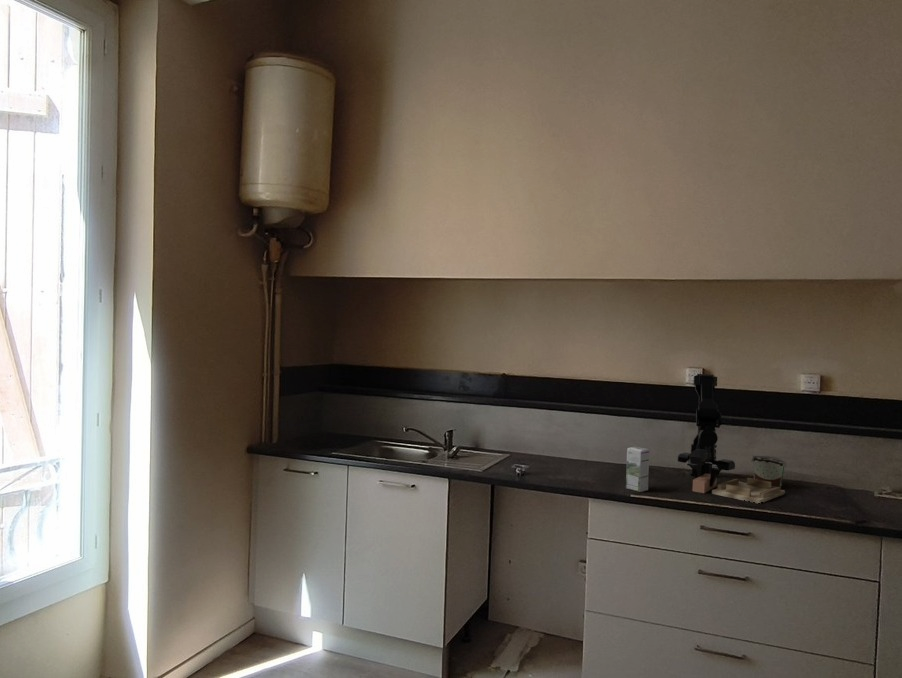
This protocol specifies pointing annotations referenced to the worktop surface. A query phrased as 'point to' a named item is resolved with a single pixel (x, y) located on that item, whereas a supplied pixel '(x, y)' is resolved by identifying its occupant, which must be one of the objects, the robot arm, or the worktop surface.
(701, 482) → the pinkish brown block
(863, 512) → the worktop surface
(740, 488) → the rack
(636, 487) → the syrup box
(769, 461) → the food container
